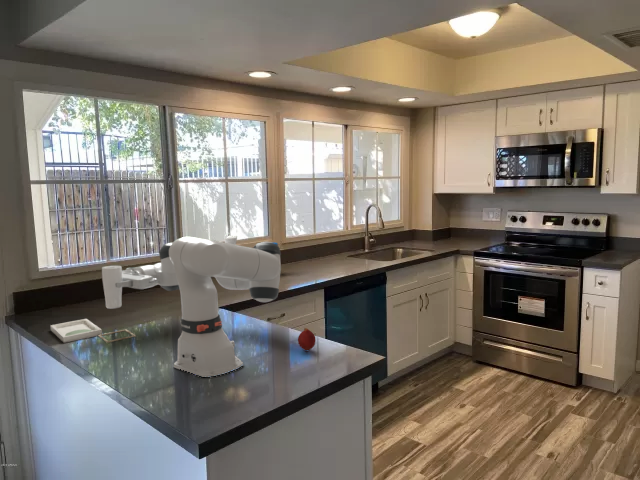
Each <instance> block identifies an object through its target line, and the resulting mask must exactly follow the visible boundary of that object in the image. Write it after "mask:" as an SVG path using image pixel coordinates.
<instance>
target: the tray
mask: <svg viewBox="0 0 640 480" xmlns="http://www.w3.org/2000/svg"><path fill="white" fill-rule="evenodd" d="M50 331H51V332H52V333H53V334H54V335H55V336H56V337H57V338H58V339H59V340H60V341H61V342H62V343H64V344H65V343H69V342H74V341H79V340H80V341H81V340H84V339H89V338H93V337H94V338H95V337H97V336H98V335H102V334H103V330H102V328H101V327H99V326H98V325H96V324H94V323H93V322H92V321H91V320H89V319H88V318H83V319H77V320H72V321H67V322H66V321H65V322H62V323H56V324H52V325H51V324H50ZM98 337H99V336H98Z"/></svg>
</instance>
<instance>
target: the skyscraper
mask: <svg viewBox="0 0 640 480" xmlns="http://www.w3.org/2000/svg"><path fill="white" fill-rule="evenodd" d="M230 234H231V233H230V232H227V233H225V234H224V237H223V240H224V243H229V244H234V245H237V241H238V236H237V235H234V236H233V235H230ZM227 235H228V236H227ZM226 236H227V237H226Z"/></svg>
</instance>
